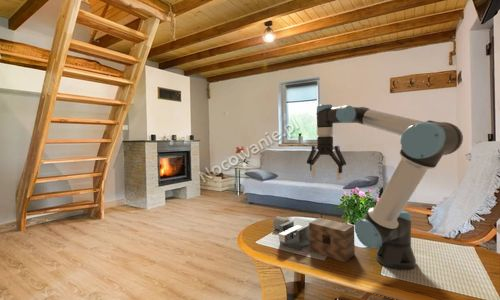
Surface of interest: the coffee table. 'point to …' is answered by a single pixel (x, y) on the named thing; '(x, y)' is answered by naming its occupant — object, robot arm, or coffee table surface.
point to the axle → (288, 234)
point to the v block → (296, 236)
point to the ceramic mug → (279, 222)
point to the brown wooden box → (332, 239)
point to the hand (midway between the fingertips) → (325, 178)
